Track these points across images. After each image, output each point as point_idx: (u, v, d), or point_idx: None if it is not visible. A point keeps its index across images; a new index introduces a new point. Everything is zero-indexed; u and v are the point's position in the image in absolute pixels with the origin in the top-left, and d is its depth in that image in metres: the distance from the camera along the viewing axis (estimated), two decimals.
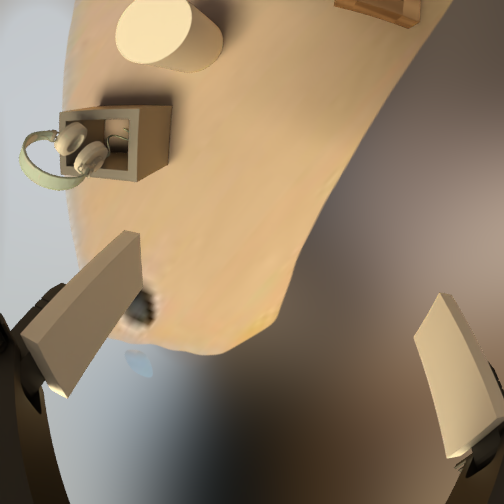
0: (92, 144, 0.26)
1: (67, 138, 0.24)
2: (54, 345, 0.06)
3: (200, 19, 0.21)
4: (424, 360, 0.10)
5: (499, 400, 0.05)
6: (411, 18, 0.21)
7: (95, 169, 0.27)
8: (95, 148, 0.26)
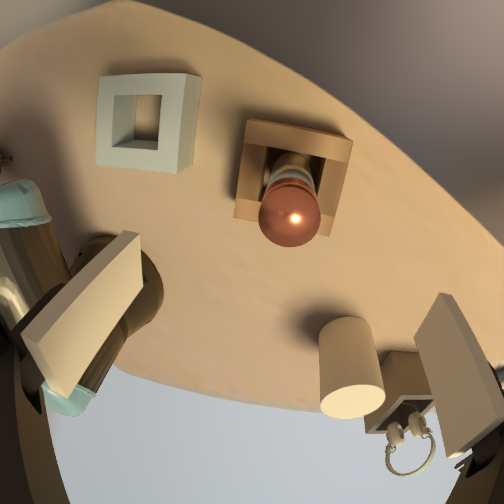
0: (411, 426, 0.32)
1: (398, 440, 0.33)
2: (54, 345, 0.06)
3: (355, 367, 0.31)
4: (424, 360, 0.10)
5: (499, 400, 0.05)
6: (349, 151, 0.25)
7: (425, 423, 0.32)
8: (415, 424, 0.32)
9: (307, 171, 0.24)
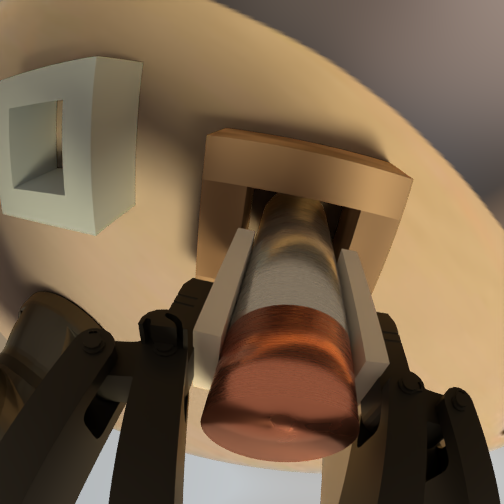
0: None
1: None
2: (223, 337, 0.08)
3: None
4: None
5: (377, 345, 0.08)
6: (405, 198, 0.13)
7: None
8: None
9: (327, 246, 0.12)
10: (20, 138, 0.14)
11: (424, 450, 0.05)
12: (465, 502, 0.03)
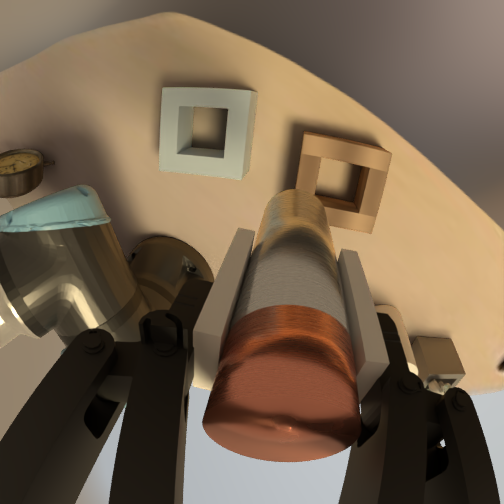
0: (430, 384, 0.36)
1: None
2: (223, 337, 0.08)
3: None
4: None
5: (377, 345, 0.08)
6: (389, 162, 0.29)
7: None
8: (433, 382, 0.36)
9: (328, 246, 0.12)
10: (181, 125, 0.30)
11: (424, 450, 0.05)
12: (465, 502, 0.03)
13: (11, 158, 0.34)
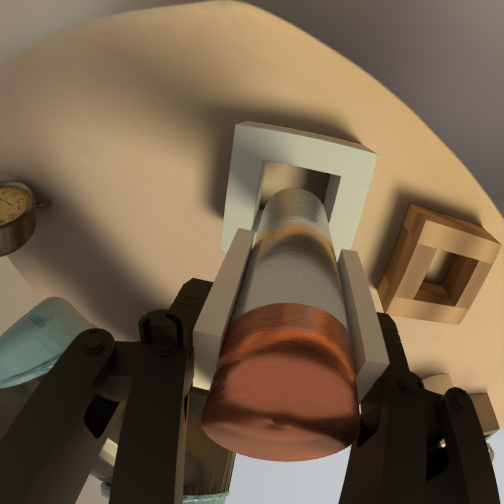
0: None
1: None
2: (223, 337, 0.08)
3: None
4: None
5: (377, 345, 0.08)
6: (496, 253, 0.21)
7: None
8: None
9: (327, 245, 0.12)
10: (259, 186, 0.22)
11: (424, 450, 0.05)
12: (465, 502, 0.03)
13: None
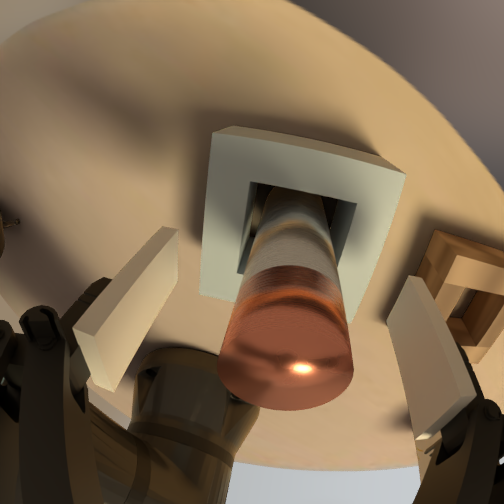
0: None
1: None
2: (107, 338, 0.07)
3: None
4: (395, 342, 0.11)
5: (465, 379, 0.06)
6: None
7: None
8: None
9: (323, 226, 0.14)
10: (247, 214, 0.17)
11: (493, 470, 0.04)
12: None
13: None
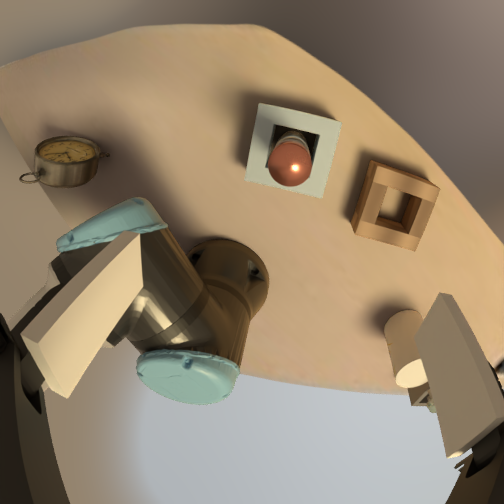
0: None
1: None
2: (54, 345, 0.06)
3: None
4: (424, 360, 0.10)
5: (499, 400, 0.05)
6: (437, 195, 0.34)
7: None
8: None
9: (304, 141, 0.31)
10: (271, 141, 0.34)
11: None
12: None
13: (61, 145, 0.37)
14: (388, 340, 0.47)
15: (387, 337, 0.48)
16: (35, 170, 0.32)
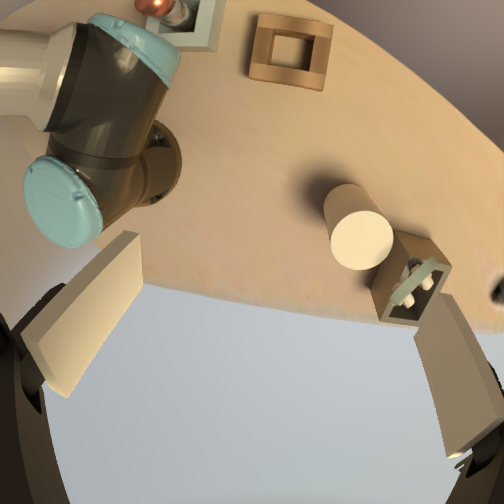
0: (412, 268, 0.37)
1: None
2: (54, 345, 0.06)
3: (359, 203, 0.35)
4: (424, 360, 0.10)
5: (499, 400, 0.05)
6: (332, 31, 0.29)
7: (430, 272, 0.36)
8: (415, 266, 0.37)
9: (184, 3, 0.27)
10: None
11: None
12: None
13: None
14: (325, 216, 0.42)
15: None
16: None
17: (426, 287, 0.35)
